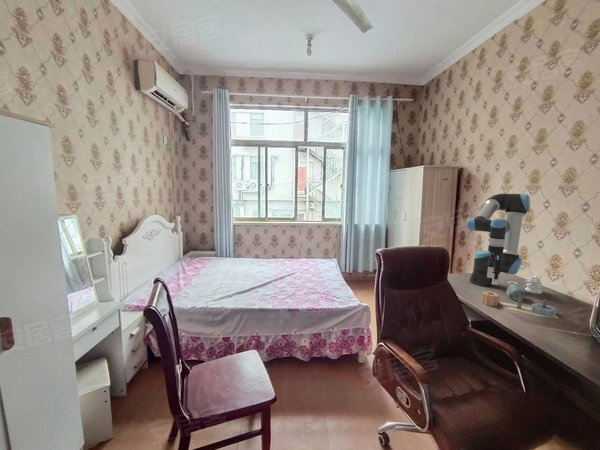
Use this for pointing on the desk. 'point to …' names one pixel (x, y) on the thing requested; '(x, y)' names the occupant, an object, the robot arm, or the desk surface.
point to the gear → (543, 309)
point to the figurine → (534, 285)
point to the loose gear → (490, 298)
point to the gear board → (524, 308)
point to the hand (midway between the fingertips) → (492, 280)
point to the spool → (515, 292)
